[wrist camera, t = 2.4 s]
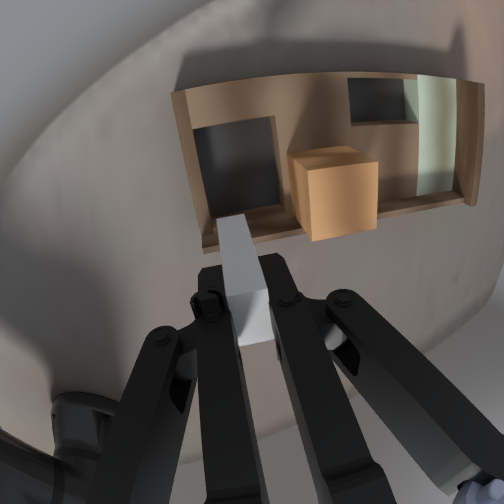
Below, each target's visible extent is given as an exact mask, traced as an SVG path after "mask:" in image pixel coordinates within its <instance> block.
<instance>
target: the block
mask: <svg viewBox="0 0 504 504" xmlns="http://www.w3.org/2000/svg"><path fill="white" fill-rule="evenodd" d="M286 156H287V165H288V175H289V185H290V195H291V206H292V213H293V215H294V216H295V217H296V219H297V220H298V222H299V223H300V225H301V226H302V228H303V229H304V230H305V232H306V233H307V235H308V236H309V238H310V239H311V241H312V242H313V241H318V240H323V239H327V238H332V237H337V236H342V235H347V234H351V233H356V232H361V231H366V230H371V229H375V228H376V224H377V202H378V161H376V160H374V159H372V158H370V157H369V156H367V155H365V154H363V153H361V152H359V151H357V150H355V149H353V148H351V147H349V146H347V145H345V146H336V147H327V148H319V149H311V150H304V151H297V152H290V153H286Z"/></svg>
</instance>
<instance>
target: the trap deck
mask: <svg viewBox="0 0 504 504" xmlns="http://www.w3.org/2000/svg"><path fill="white" fill-rule="evenodd" d="M171 97H172V103H173V108H174V113H175V118H176V123H177V128H178V133H179V137H180V142H181V147H182V152H183V156H184V161H185V166H186V170H187V175H188V179H189V184H190V188H191V193H192V197H193V201H194V206H195V210H196V214H197V218H198V223H199V227H200V231H201V235H202V249H203V253H204V254H207V253H212V252H216V251H220V245H219V237H218V229H217V220H216V219H219V218H224V217H229V216H234V215H239V214H244V215H245V218H246V222H247V225H248V228H249V231H250V234H251V237H252V241H253V244H255V243H260V242H265V241H270V240H275V239H280V238H285V237H290V236H295V235H300V234H305V233H306V232H305V230H304V229H303V228H302V226H301V225H300V223H299V222H298V220H297V219H296V217H295V216H294V215H293V213H292V206H291V195H290V185H289V175H288V165H287V156H286V153H290V152H297V151H304V150H311V149H319V148H327V147H336V146H345V145H347V146H349V147H351V148H353V149H355V150H357V151H359V152H361V153H363V154H365V155H367V156H369V157H370V158H372V159H374V160H376V161H378V202H377V219H380V218H385V217H391V216H396V215H401V214H406V213H411V212H416V211H422V210H427V209H432V208H437V207H442V206H448V205H453V204H458V203H463V202H464V203H465V204H467V205H468V206H475V205H476V203H477V197H478V190H479V183H480V175H481V165H482V154H483V141H484V117H485V91H484V84H482V83H477V82H471V81H465V80H459V79H452V78H444V77H436V76H427V75H417V74H404V73H388V72H316V73H299V74H286V75H275V76H266V77H257V78H249V79H242V80H235V81H228V82H222V83H216V84H211V85H205V86H200V87H195V88H190V89H185V90H181V91H176V92H172V93H171Z"/></svg>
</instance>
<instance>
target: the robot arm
mask: <svg viewBox="0 0 504 504" xmlns="http://www.w3.org/2000/svg"><path fill="white" fill-rule="evenodd" d="M216 220H217V229H218V237H219V245H220V253H221V261H222V265H217V266H212V267H207V268H202V269H201V271H200V273H199V275H198V292H197V293H195V294H194V295H193V296H192V297H191V300H190V305H191V307H192V310H193V313H194V316H195V320H194V322H192V323H191V324H190V325H188V326H186V327H184V328H182V329H180V330H176V329H175V328H173V327H172V326H160V327H157V328H155V329H153V330H152V331H151V332H150V333H149V334H148V335H147V337H146V338H145V341H144V343H143V346H142V348H141V350H140V353H139V355H138V358H137V360H136V362H135V365H134V367H133V370H132V372H131V375H130V377H129V380H128V382H127V385H126V387H125V390H124V393H123V395H122V398H121V400H120V403H117V402H114V401H112V400H109V399H107V398H104V397H100V396H97V395H92V394H87V393H77V392H72V393H64V394H61V395H59V396H57V397H56V398H55V400H54V402H53V406H52V410H51V420H52V429H53V436H54V443H55V450H54V456H51V455H49V454H47V453H45V452H43V451H41V450H38V449H37V448H35V447H33V446H31V445H29V444H27V443H25V442H23V441H21V440H19V439H18V438H16V437H14V436H12V435H11V434H9V433H7V432H6V431H4V430H2V429H1V428H2V427H0V504H169V500H170V495H171V491H172V486H173V482H174V477H175V473H176V468H177V464H178V459H179V455H180V450H181V446H182V442H183V437H184V433H185V429H186V424H187V420H188V416H189V412H190V407H191V403H192V399H193V395H194V391H195V386H196V382H197V377H198V395H199V411H200V425H201V438H202V450H203V461H204V472H205V481H206V491H207V498H206V501H205V503H204V504H270V503H269V498H268V493H267V489H266V484H265V479H264V474H263V469H262V464H261V460H260V455H259V449H258V444H257V439H256V434H255V429H254V423H253V418H252V413H251V408H250V402H249V397H248V391H247V386H246V380H245V375H244V369H243V363H242V358H241V353H240V350H239V346H244V345H249V344H254V343H259V342H264V341H268V340H273V339H274V337H275V342H276V349H277V357H278V360H280V364H281V367H282V371H283V374H284V378H285V382H286V385H287V389H288V392H289V396H290V400H291V403H292V407H293V410H294V414H295V418H296V421H297V425H298V428H299V432H300V435H301V439H302V443H303V446H304V450H305V453H306V457H307V461H308V464H309V468H310V471H311V475H312V478H313V482H314V485H315V489H316V493H317V497H318V502H319V504H397V503H396V501H395V498H394V495H393V493H392V490H391V487H390V485H389V482H388V480H387V477H386V475H385V473H384V470H383V469H382V467H381V466H380V465H379V464H378V463H376V462H374V460H373V459H372V457H371V454H370V452H369V449H368V447H367V444H366V442H365V439H364V436H363V434H362V431H361V429H360V426H359V424H358V422H357V419H356V417H355V414H354V412H353V409H352V407H351V404H350V402H349V399H348V397H347V394H346V392H345V390H344V387H343V385H342V382H341V380H340V378H339V375H338V373H337V370H336V368H335V366H334V363H333V361H334V362H335V363H336V364H337V366H338V367H339V368H340V369H341V371H342V372H343V373H344V374H345V376H346V377H347V378H348V379H349V380H350V382H351V383H352V384H353V385H354V387H355V388H356V389H357V390H358V392H359V393H360V394H361V395H362V396H363V398H364V399H365V400H366V401H367V403H368V404H369V405H370V406H371V408H372V409H373V410H374V411H375V412H376V414H377V415H378V416H379V417H380V419H381V420H382V421H383V422H384V423H385V425H386V426H387V427H388V428H389V430H391V432H392V433H393V434H394V436H395V437H396V438H397V439H398V441H399V442H400V443H401V444H402V446H403V447H404V448H405V449H406V450H407V452H408V453H409V454H410V455H411V457H412V458H413V459H414V460H415V461H416V463H417V464H418V465H419V466H420V468H421V469H422V470H423V471H424V472H425V474H426V475H427V476H428V477H429V479H430V480H431V481H432V482H433V483H434V484H435V485H436V486H437V487H438V488H439V489H440V490H441V491H443V492H444V493H445V494H446V495H448V496H449V497H451V498H453V499H454V501H453V504H504V435H503V434H501V433H500V432H499V431H498V430H497V429H496V428H495V427H494V426H493V425H492V423H491V422H490V421H489V420H488V419H487V418H486V417H485V416H484V415H483V414H482V413H481V412H480V411H479V410H478V409H477V408H476V407H475V406H474V405H473V404H472V403H471V402H470V401H469V400H468V399H467V398H466V397H465V396H464V395H463V394H462V393H461V392H460V391H459V390H458V389H457V388H456V387H455V386H454V385H453V384H452V383H451V382H450V381H449V380H448V379H447V378H446V377H445V376H444V375H443V374H442V373H441V372H440V371H439V370H438V369H437V368H436V367H435V366H434V365H433V364H432V363H431V362H430V361H429V360H428V359H427V358H426V357H425V356H424V355H423V354H422V353H421V352H420V351H419V350H417V349H416V348H415V347H414V346H413V345H412V344H411V343H410V342H409V341H408V340H407V339H406V338H405V337H404V336H403V335H402V334H401V333H400V332H399V331H397V330H396V329H395V328H394V327H393V326H392V325H391V324H390V323H389V322H388V321H387V320H386V319H385V318H384V317H382V316H381V315H380V314H379V313H378V312H377V311H376V310H375V309H374V308H373V307H372V306H371V305H369V304H368V303H367V302H366V301H365V300H364V299H363V298H362V297H361V296H360V295H358V294H357V293H356V292H354V291H352V290H348V289H338V290H335V291H333V292H331V293H330V294H329V295H328V296H327V298H326V300H317V299H310V298H306V297H305V296H304V295H303V294H302V293H301V292H299V291H298V289H297V287H296V285H295V283H294V280H293V278H292V276H291V273H290V271H289V269H288V267H287V264H286V262H285V260H284V258H283V257H282V256H280V255H279V254H278V253H273V254H268V255H263V256H258V257H257V253H256V250H255V247H254V244H253V241H252V237H251V234H250V231H249V228H248V225H247V222H246V218H245V215H244V214H239V215H234V216H229V217H224V218H219V219H216ZM331 358H332V359H331ZM332 360H333V361H332Z"/></svg>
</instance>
